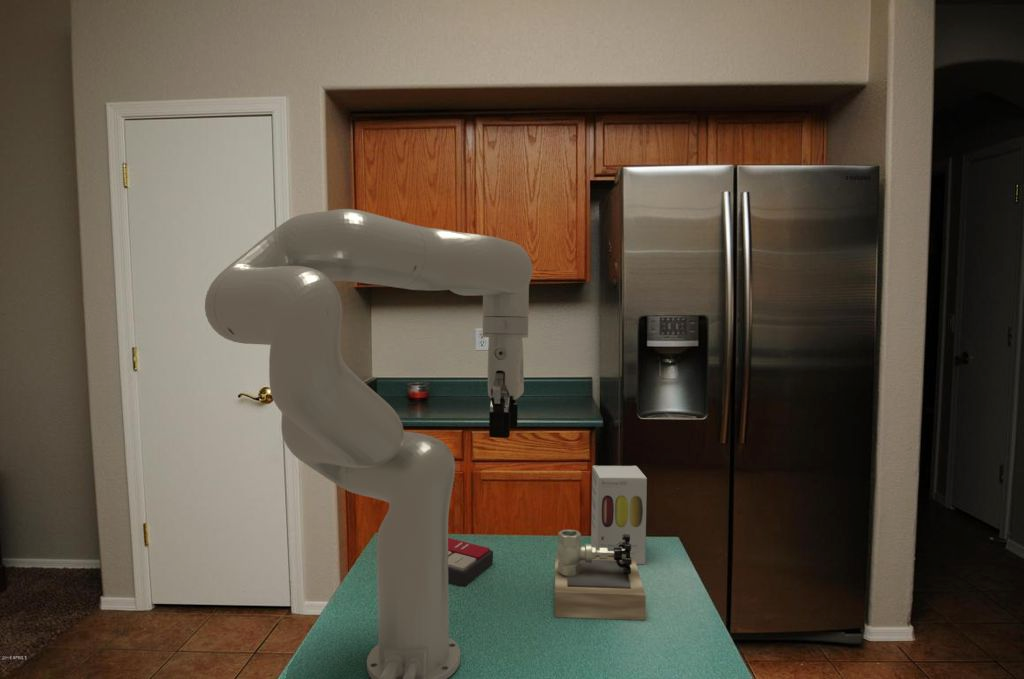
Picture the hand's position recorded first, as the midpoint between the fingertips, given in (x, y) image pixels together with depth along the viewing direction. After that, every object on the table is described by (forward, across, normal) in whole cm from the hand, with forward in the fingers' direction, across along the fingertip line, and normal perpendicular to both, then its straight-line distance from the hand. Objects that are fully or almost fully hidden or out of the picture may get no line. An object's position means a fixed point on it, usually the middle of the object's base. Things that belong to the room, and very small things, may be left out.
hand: (503, 432), depth 101 cm
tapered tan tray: (+28, +3, -16) cm, 32 cm away
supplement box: (+27, +21, -20) cm, 40 cm away
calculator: (+28, +12, +12) cm, 33 cm away
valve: (+24, +3, -15) cm, 28 cm away
